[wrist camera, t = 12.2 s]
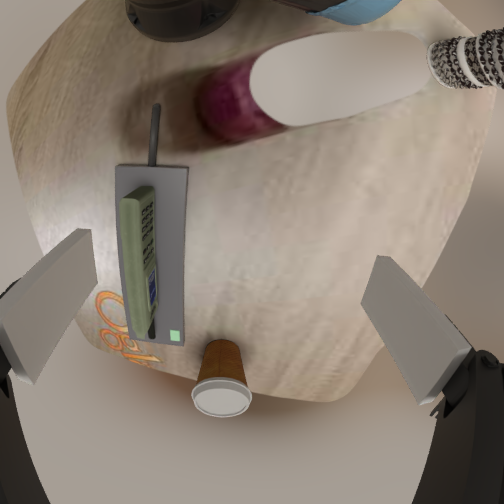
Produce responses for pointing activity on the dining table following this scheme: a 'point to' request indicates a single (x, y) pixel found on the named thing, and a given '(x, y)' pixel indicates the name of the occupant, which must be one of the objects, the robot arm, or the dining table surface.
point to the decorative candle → (469, 61)
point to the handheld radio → (139, 258)
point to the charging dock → (159, 237)
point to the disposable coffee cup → (221, 381)
